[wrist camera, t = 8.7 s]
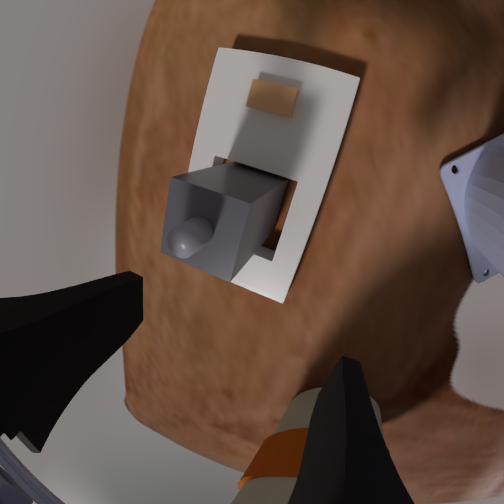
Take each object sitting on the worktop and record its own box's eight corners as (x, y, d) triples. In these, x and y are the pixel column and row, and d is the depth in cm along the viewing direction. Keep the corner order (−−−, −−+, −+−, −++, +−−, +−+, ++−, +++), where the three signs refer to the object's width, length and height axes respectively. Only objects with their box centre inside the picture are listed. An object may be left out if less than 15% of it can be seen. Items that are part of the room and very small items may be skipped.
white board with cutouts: (229, 53, 14) (214, 44, 13) (359, 83, 13) (360, 75, 11) (185, 249, 21) (169, 260, 19) (287, 292, 19) (280, 308, 17)
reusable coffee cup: (246, 383, 24) (170, 522, 11) (385, 356, 19) (370, 556, 6) (297, 450, 27) (256, 559, 14) (406, 435, 21) (393, 566, 8)
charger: (235, 161, 17) (148, 183, 10) (289, 178, 16) (235, 214, 9) (223, 212, 19) (140, 265, 11) (273, 231, 18) (214, 300, 11)
